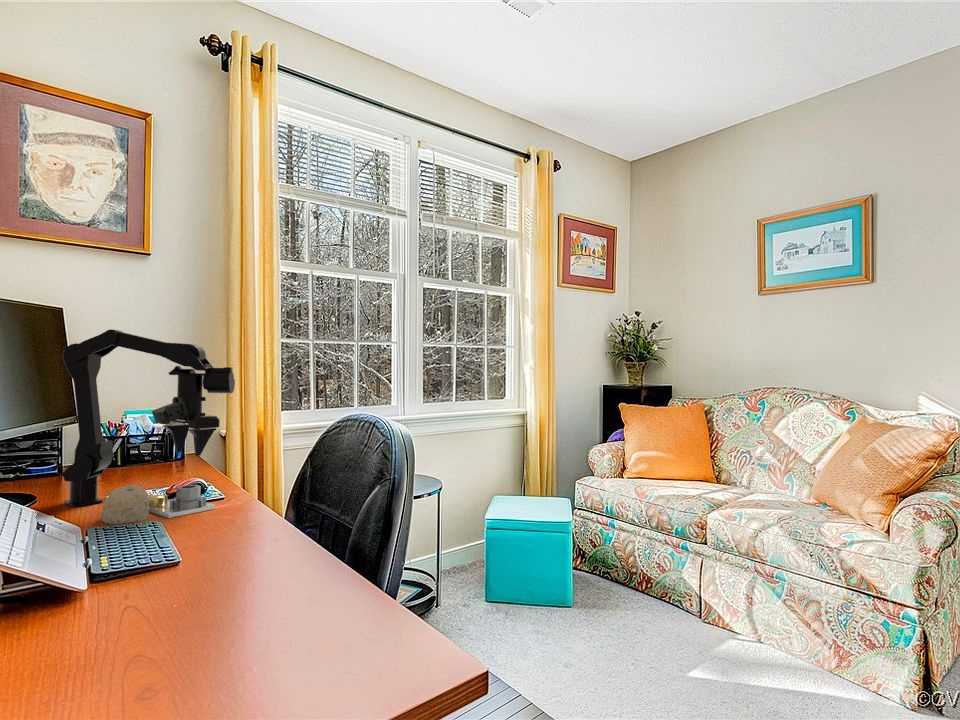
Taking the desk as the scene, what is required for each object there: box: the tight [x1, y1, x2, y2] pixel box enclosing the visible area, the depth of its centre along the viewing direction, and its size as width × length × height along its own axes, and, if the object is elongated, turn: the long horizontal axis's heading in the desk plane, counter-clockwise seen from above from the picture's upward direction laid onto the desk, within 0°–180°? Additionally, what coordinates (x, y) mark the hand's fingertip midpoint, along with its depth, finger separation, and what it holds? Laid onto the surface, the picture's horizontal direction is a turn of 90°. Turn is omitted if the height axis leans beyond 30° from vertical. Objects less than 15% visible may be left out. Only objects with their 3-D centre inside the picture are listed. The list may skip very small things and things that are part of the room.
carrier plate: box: [148, 494, 216, 519], centre depth 138 cm, size 13×12×4 cm
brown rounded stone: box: [101, 484, 150, 525], centre depth 129 cm, size 9×10×10 cm
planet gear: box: [169, 484, 207, 510], centre depth 138 cm, size 8×8×4 cm
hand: (188, 454), depth 146 cm, fingers open, 9 cm apart
